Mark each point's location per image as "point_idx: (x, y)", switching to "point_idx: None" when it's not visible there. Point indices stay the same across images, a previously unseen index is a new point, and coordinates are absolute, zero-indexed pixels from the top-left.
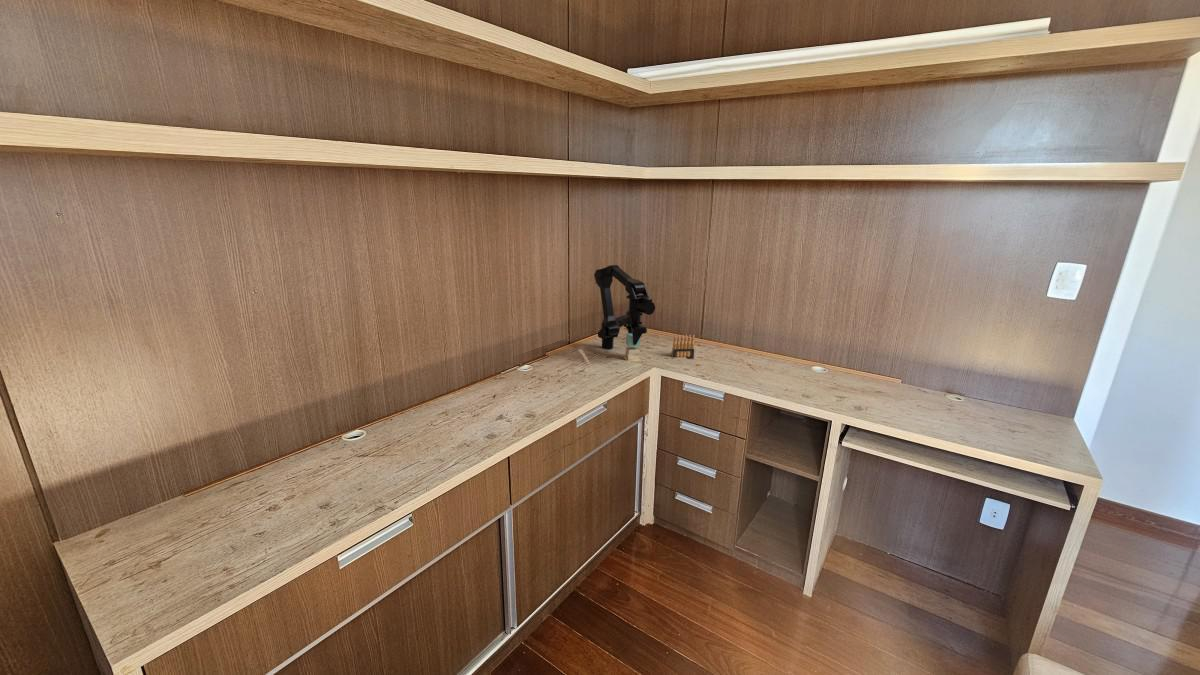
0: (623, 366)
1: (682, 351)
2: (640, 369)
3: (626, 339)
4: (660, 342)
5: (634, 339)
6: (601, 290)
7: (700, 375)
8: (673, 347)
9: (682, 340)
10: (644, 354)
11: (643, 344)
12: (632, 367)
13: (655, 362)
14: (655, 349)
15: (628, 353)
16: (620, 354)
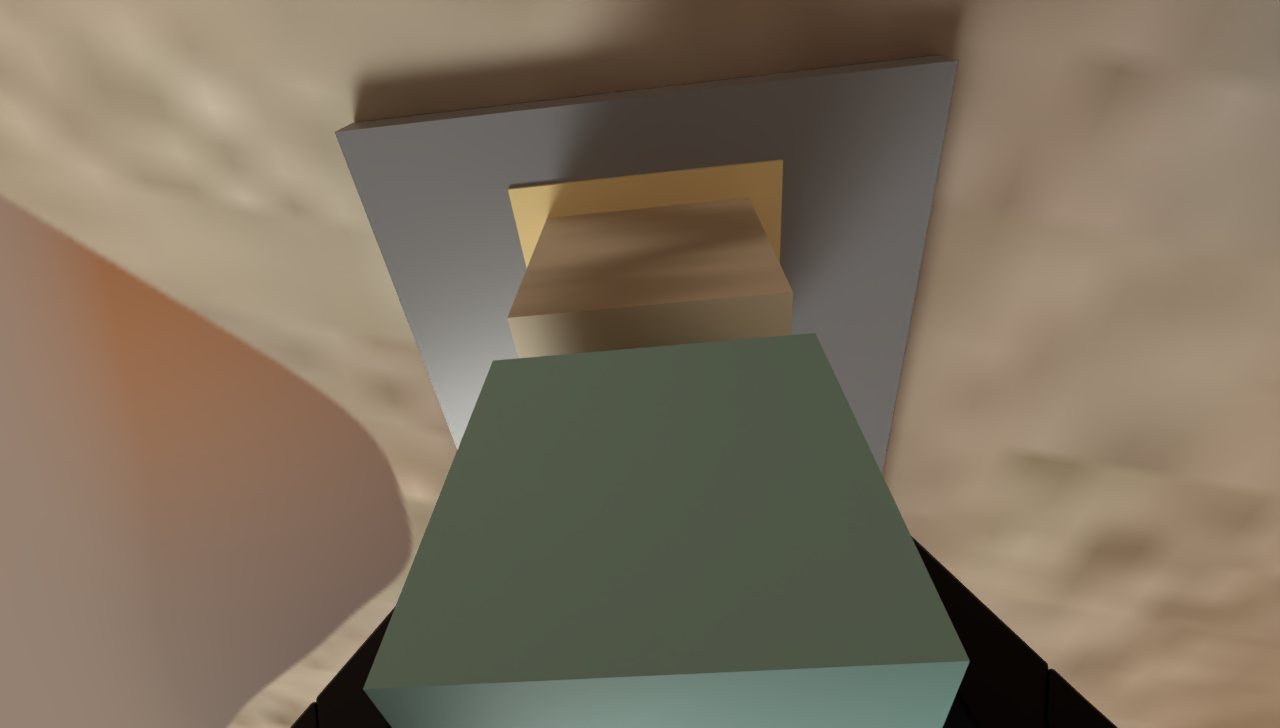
0: (357, 78)
1: None
2: (289, 328)
3: (828, 435)
4: (1218, 665)
5: (354, 690)
6: None
7: (298, 715)
8: None
9: None
10: (898, 478)
11: (1276, 533)
12: (345, 232)
13: None
14: (1027, 597)
15: (547, 274)
16: (1026, 145)
